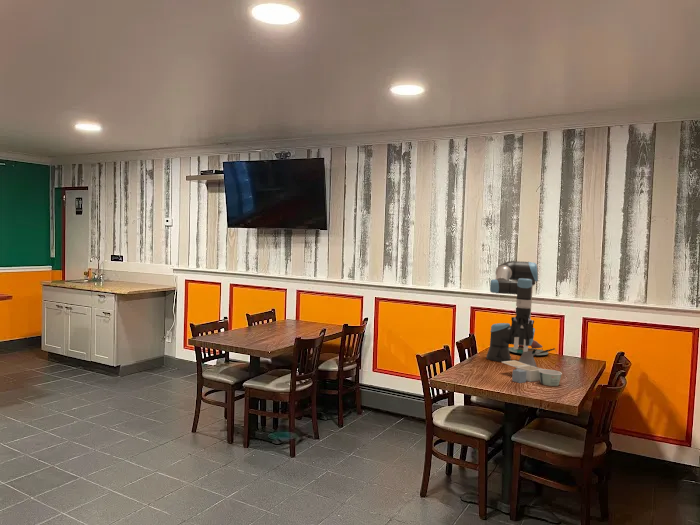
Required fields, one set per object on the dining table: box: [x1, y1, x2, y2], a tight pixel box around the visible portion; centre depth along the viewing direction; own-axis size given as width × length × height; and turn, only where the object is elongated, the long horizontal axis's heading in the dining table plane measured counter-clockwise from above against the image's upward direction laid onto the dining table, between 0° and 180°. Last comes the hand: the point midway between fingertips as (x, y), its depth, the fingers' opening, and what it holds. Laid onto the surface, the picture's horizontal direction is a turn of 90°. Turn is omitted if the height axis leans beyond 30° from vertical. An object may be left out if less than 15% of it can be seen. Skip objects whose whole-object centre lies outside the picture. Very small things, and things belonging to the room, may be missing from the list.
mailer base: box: [515, 365, 543, 383], centre depth 302 cm, size 10×11×6 cm
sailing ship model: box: [509, 339, 550, 356], centre depth 381 cm, size 28×28×11 cm
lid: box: [501, 359, 529, 368], centre depth 311 cm, size 11×11×1 cm
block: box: [511, 368, 527, 384], centre depth 294 cm, size 5×5×6 cm
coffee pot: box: [517, 347, 557, 367], centre depth 321 cm, size 21×12×15 cm, turn 72°
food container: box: [539, 368, 563, 387], centre depth 293 cm, size 12×12×7 cm
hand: (520, 350), depth 294 cm, fingers open, 6 cm apart
